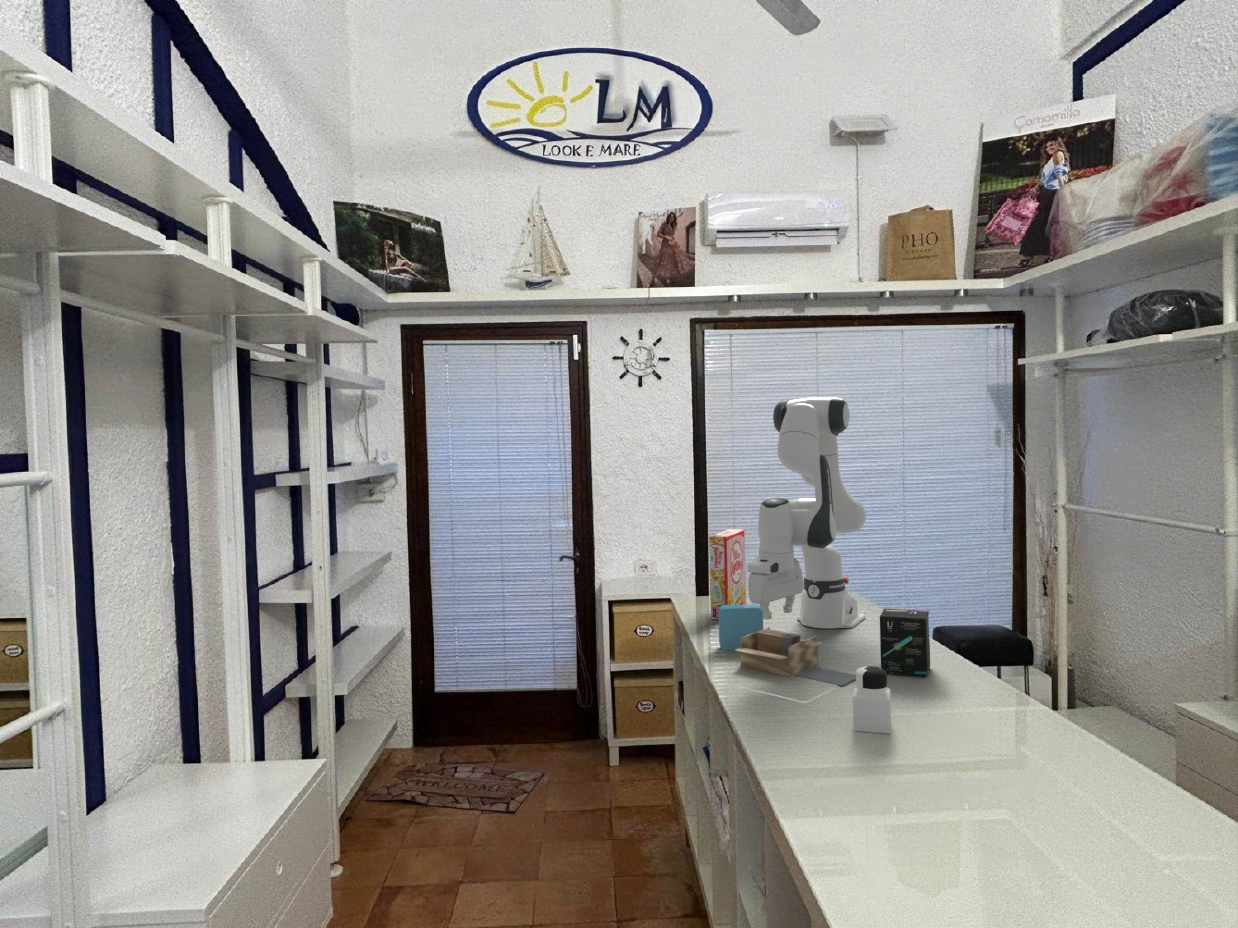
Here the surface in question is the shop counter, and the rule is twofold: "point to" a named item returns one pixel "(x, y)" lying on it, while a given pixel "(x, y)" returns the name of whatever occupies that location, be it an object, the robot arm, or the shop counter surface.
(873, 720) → the medicine bottle
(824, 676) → the mat
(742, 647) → the carton
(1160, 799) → the shop counter surface
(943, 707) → the shop counter surface
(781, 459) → the robot arm
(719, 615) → the blue rounded block
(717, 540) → the popcorn box
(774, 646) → the walnut box
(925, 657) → the tampon box
